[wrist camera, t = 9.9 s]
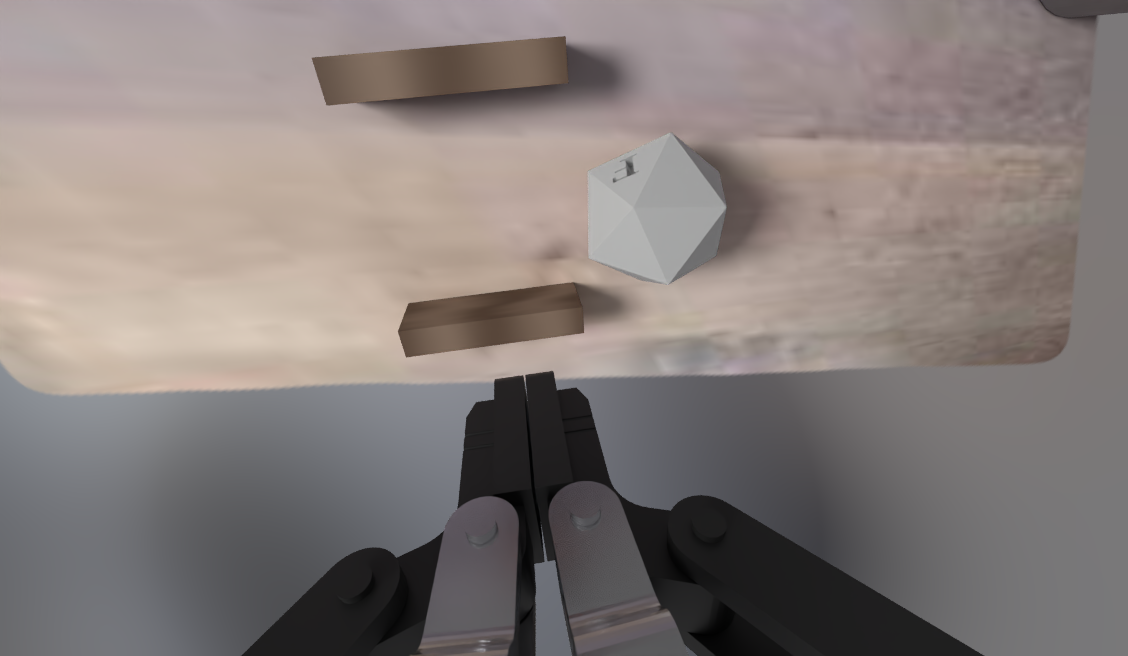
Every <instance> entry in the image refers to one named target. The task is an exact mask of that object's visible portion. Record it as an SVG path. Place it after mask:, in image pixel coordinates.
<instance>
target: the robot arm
mask: <svg viewBox="0 0 1128 656" xmlns="http://www.w3.org/2000/svg"><path fill="white" fill-rule="evenodd" d="M1041 2H1042V3H1043V5H1044V6H1045V8H1046V9H1047V10H1049V11H1050V12H1052V13H1053V14H1055V15H1057V16H1062V17H1067V18H1071V17H1083V16H1094V15H1104V14H1116V13H1127V12H1128V0H1041ZM525 376H526V388H527V395H526V389H525V382H524V377H523V375H522V376H515V377H508V378H501V379H495V382H494V400H488V401H481V402H476V404H475V405H474V406H473V408H472V410H471V411H470V413H469V414H468V416H467V418H466V428H465V439H464V451H463V459H462V470H461V480H460V491H459V502H458V508H457V510H456V511H455V512H454V513H453V514H452V516H451V517H450V518H449V520H448V522H447V524H446V526H445V529H444V531H443V532H442V533H441V534H440V535H439V536H437V537H436V538H435V539H433V540H432V541H430V542H429V543H427V544H425V545H423V546H421V547H419V548H417V549H414V550H412V551H410V552H408V553H406V554H404V555H402V556H400V557H397V558H396V557H395V556H394V555H393V554H392V553H391V552H389V551H388V550H386V549H382V548H366V549H362V550H359V551H356V552H354V553H352V554H350V555H348V556H346V557H345V558H343V559H342V560H340V561H339V562H338V563H337V564H335V565H334V566H333V567H332V568H331V569H330V570H329V571H328V572H327V573H326V574H325V575H324V576H323V577H322V578H321V579H320V580H319V581H318V582H317V583H316V584H315V585H313V587H312V588H310V589H309V590H308V591H307V592H306V593H305V594H304V595H303V596H302V597H301V598H300V599H299V600H298V601H297V602H296V603H295V604H294V605H293V606H292V607H291V608H290V609H289V610H288V611H287V612H286V613H285V614H284V615H283V616H282V617H281V618H280V619H279V620H278V621H277V622H275V624H274V625H272V626H271V627H270V629H268V630H267V631H266V632H265V633H264V634H263V635H262V636H261V637H260V638H259V639H258V640H257V641H256V642H255V643H254V644H253V645H252V646H251V647H250V648H249V649H248V650H247V651H246V652H245V653H244V654H243V655H242V656H536V602H535V595H536V583H535V569H534V564H535V563H542V562H544V552H543V540H542V531H543V536H544V543H545V548H546V554H547V560H548V561H552V560H555V562H556V568H557V575H558V581H559V588H560V594H561V601H562V605H563V611H564V616H565V621H566V626H567V632H568V637H569V642H570V647H571V652H572V656H689V655H688V652H687V650H686V647H685V645H686V646H687V647H688V648H689V649H690V650H692V651H693V652H694V653H695V654H696V655H697V656H984V655H982V654H980V653H979V652H977V651H975V650H974V649H972V648H970V647H969V646H967V645H965V644H964V643H962V642H960V641H959V640H957V639H955V638H953V637H952V636H950V635H948V634H947V633H945V632H943V631H942V630H940V629H938V628H937V627H935V626H933V625H931V624H930V623H928V622H927V621H925V620H923V619H922V618H920V617H918V616H916V615H915V614H913V613H911V612H910V611H908V610H906V609H905V608H903V607H901V606H900V605H898V604H896V603H895V602H893V601H891V600H890V599H888V598H886V597H885V596H883V595H881V594H880V593H878V592H876V591H874V590H873V589H871V588H869V587H868V586H866V585H864V584H863V583H861V582H859V581H858V580H856V579H854V578H853V577H851V576H849V575H848V574H846V573H844V572H843V571H841V570H839V569H837V568H836V567H834V566H832V565H831V564H829V563H827V562H826V561H824V560H822V559H821V558H819V557H817V556H816V555H814V554H812V553H810V552H809V551H807V550H806V549H804V548H802V547H801V546H799V545H797V544H795V543H794V542H792V541H790V540H789V539H787V538H785V537H784V536H782V535H780V534H779V533H777V532H775V531H773V530H772V529H770V528H769V527H767V526H765V525H763V524H762V523H760V522H758V521H757V520H755V519H753V518H752V517H750V516H748V515H747V514H745V513H743V512H742V511H740V510H738V509H737V508H735V507H733V506H732V505H730V504H728V503H726V502H724V501H723V500H720V499H718V498H715V497H710V496H702V495H700V496H699V495H698V496H691V497H687V498H685V499H683V500H681V501H679V502H678V503H677V504H676V505H675V506H674V507H673V509H672V510H671V511H669V510H661V509H654V508H647V507H642V506H639V505H635V504H633V503H632V502H629V501H627V500H626V499H625V498H623V497H622V496H621V495H620V494H619V493H618V492H617V491H616V490H615V489H614V487H613V485H612V484H611V481H610V478H609V475H608V471H607V467H606V464H605V460H604V456H603V453H602V449H601V446H600V442H599V438H598V434H597V431H596V427H595V423H594V419H593V417H592V412H591V408H590V405H589V401H588V399H587V398H586V397H585V396H584V395H583V394H582V393H581V392H580V391H579V390H578V389H577V388H571V389H564V390H557V389H556V384H555V378H554V372H553V371H549V372H542V373H535V374H528V375H525ZM527 400H528V401H527ZM541 525H542V530H541ZM684 644H685V645H684Z"/></svg>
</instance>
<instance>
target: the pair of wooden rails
mask: <svg viewBox="0 0 1128 656" xmlns="http://www.w3.org/2000/svg"><path fill="white" fill-rule="evenodd" d="M312 60H313V64H314V67H315V70H316V73H317V76H318V80H319V83H320V86H321V89H322V92H323V95H324V99H325V102H326V105H338V104H348V103H359V102H370V101H381V100H391V99H402V98H413V97H424V96H435V95H445V94H456V93H467V92H478V91H488V90H499V89H510V88H521V87H531V86H542V85H553V84H564V83H568V69H567V53H566V37H565V36H564V37H552V38H540V39H528V40H516V41H504V42H493V43H481V44H469V45H457V46H445V47H433V48H422V49H410V50H398V51H386V52H374V53H363V54H351V55H339V56H327V57H315V58H312ZM398 333H399V336H400V340H401V343H402V346H403V349H404V352H405V355H406V357H412V356H420V355H427V354H434V353H441V352H449V351H456V350H463V349H471V348H478V347H485V346H492V345H500V344H507V343H514V342H521V341H529V340H536V339H543V338H551V337H558V336H565V335H572V334H580V333H584V323H583V307H582V304H581V302H580V299H579V296H578V294H577V291H576V288H575V286H574V283H565V284H557V285H549V286H541V287H534V288H526V289H518V290H510V291H502V292H495V293H487V294H479V295H471V296H463V297H456V298H448V299H440V300H432V301H424V302H416V303H409V304H408V306H407V309H406V311H405V314H404V317H403V320H402V322H401V325H400V328H399V330H398Z"/></svg>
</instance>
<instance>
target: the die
mask: <svg viewBox="0 0 1128 656" xmlns="http://www.w3.org/2000/svg"><path fill="white" fill-rule="evenodd" d="M726 209H727V206H726V201H725V196H724V192H723V187H722V182H721V178H720V173H719V171H717V170H716V169H715V168H714V167H713V166H711V165H710V164H709V163H708V162H707V161H705V160H704V159H703V158H702V157H701V156H699V155H698V154H697V153H696V152H694V151H693V150H692V149H691V148H690V147H688V146H687V145H686V144H685V143H684V142H682V141H681V140H680V139H679V138H678V137H676V136H675V135H674V134H673V133H668V134H666V135H664V136H662V137H660V138H658V139H656V140H653V141H651V142H649V143H647V144H645V145H643V146H641V147H638V148H636V149H634V150H632V151H630V152H628V153H625V154H623V155H621V156H619V157H617V158H615V159H613V160H610V161H608V162H606V163H604V164H602V165H600V166H598V167H595V168H593V169H591V170H589V171H588V249H589V259H591V260H594V261H596V262H599V263H601V264H603V265H606V266H608V267H610V268H613V269H615V270H618V271H620V272H622V273H625V274H627V275H629V276H632V277H634V278H636V279H639V280H642V281H648V282H654V283H660V284H666V285H669V284H670V283H672V282H674V281H675V280H677V279H679V278H680V277H682V276H684V275H685V274H687V273H689V272H690V271H692V270H694V269H695V268H697V267H699V266H700V265H702V264H704V263H705V262H707V261H708V260H710V259H712V258H713V257H715V256H716V255H717V250H718V246H719V241H720V236H721V232H722V227H723V223H724V218H725V213H726Z"/></svg>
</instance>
